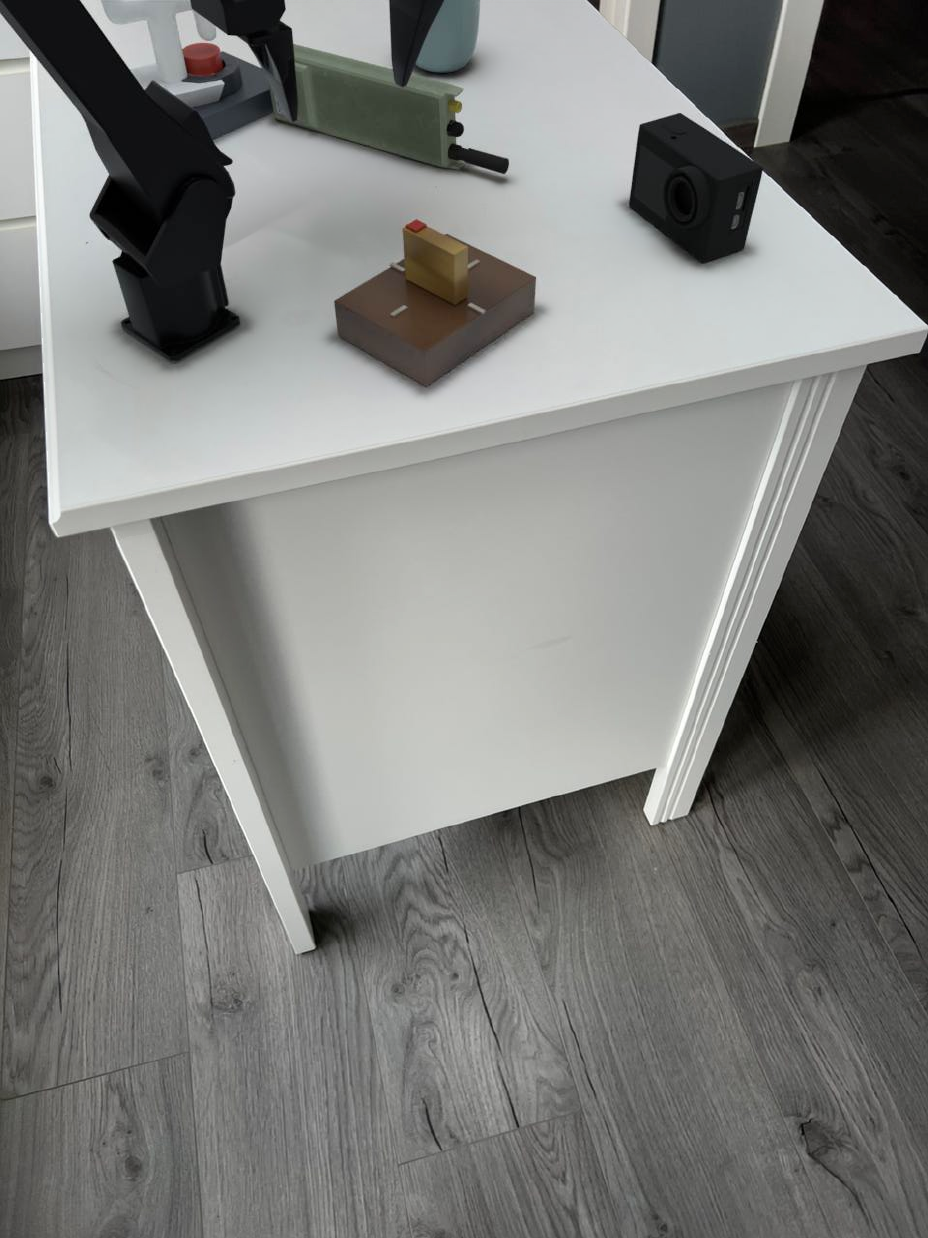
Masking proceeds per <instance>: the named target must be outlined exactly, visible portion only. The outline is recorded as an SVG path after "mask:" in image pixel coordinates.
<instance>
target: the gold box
mask: <svg viewBox="0 0 928 1238" xmlns="http://www.w3.org/2000/svg"><path fill="white" fill-rule="evenodd" d="M402 241H403V259H404V262H405V278H406V279H407V280H409V281H411V282H413V283H414V284H416V285H418V286H420V287H422V288H424V289H426V290H427V291H429V292H431V293H433V294H435V295H437V296H439V297H440V298H442V299H444V300H446V301H448V302H450V303H452V304H453V305H456V304H458V303H459V302H461V301H462V300H464V299H466V298H467V297H468V247H467V246H465V245H463V244H461V243H459V242H457V241H455V240H453V239H452V238H450V237H448V236H446V235H445V234H444V233H441V232H440V231H438V230H436V229H433V228H432V227H430V226H427V223H425V222H423V221H421V220H419V219H418V218H416V219H415V220H412V221H411V222H409V223H407V224H406V225H405V226H404V227H403V228H402Z"/></svg>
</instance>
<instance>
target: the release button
mask: <svg viewBox="0 0 928 1238" xmlns="http://www.w3.org/2000/svg"><path fill="white" fill-rule="evenodd" d="M182 52H183V56H184V61H185V66H186V71H187V73H188V74H191V75H195V76H205V75H211V74H214V73H218V72H220V71H222V70H223V63H222V58H221V52H222V51H221V48H220V47H219V46H218V45H217V44H214V43H211V42H195V43H191V44H188V45H186V46H184V47H183V48H182Z"/></svg>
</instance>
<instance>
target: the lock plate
mask: <svg viewBox="0 0 928 1238" xmlns="http://www.w3.org/2000/svg"><path fill="white" fill-rule="evenodd" d="M444 235H446V236H448V237H450V238H452V239H453V240H455V241H457V242H459V243H461V244H463V245H465V246H467V247H468V297H467V298H466V299H464V300H462V301H461V302H459V303H458V304H456V305H453V304H452V303H450V302H448V301H446V300H444V299H442V298H440V297H439V296H437V295H435V294H433V293H431V292H429V291H427V290H426V289H424V288H422V287H420V286H418V285H416V284H414V283H413V282H411V281H409V280H407V279H406V278H405V262H404V258H403V259H401V260H399V261H398V262H396V263H395V262H393V261H392V262H390V263H389V267H388V268H386V269H385V270H383V271H381V272H379V273H378V274H376V275H375V276H372V277H371V278H369V279H368V280H366V281H365V282H363V283H361V284H360V285H358V286H356V287H355V288H353V289H351V290H349V291H348V292H347V293H344V294H343V295H341V296H340V297H338V298H336V299H334V300H333V306H334V312H335V313H334V314H335V320H336V321H335V322H336V330H337V337H340V338H341V339H343V340H345V341H346V342H348V343H350V344H351V345H353V346H355V347H357V348H359V349H360V350H362V351H364V352H365V353H367V354H369V355H370V356H373V357H374V358H376V359H378V360H379V361H380V362H383V363H385V364H386V365H387V366H389V367H391V368H393V369H395V370H397V371H398V372H400V373H401V374H403V375H405V376H406V377H408V378H410V379H412V380H413V381H415V382H417V383H418V384H420V385H422V386H424V387H429V386H430V385H431V384H433V383H434V382H435V381H438V379H440V378H442V377H443V376H444V375H445V374H447V373H448V372H450V371H451V370H452V369H454V368H455V367H457V366H458V365H460V364H461V363H463V362H464V361H465V360H467V359H469V358H470V357H472V356H473V355H474V354H476V353H478V352H479V351H481V349H483V348H484V347H486V346H487V345H489V344H490V343H492V342H493V341H494V340H496V339H497V338H499V337H500V336H502V335H504V333H506V332H507V331H509V330H511V329H512V328H513V327H515V326H516V325H517V324H519V323H520V322H522V321H524V319H526V318H528V317H529V316H530V315H532V314H534V313H535V303H536V289H537V287H536V286H537V276H536V275H533V274H531V273H528V272H527V271H525V270H522V269H521V268H519V267H516V266H514V265H512V264H510V263H508V262H506V261H504V260H502V259H500V258H498V257H496V256H494V255H492V254H490V253H488V252H486V251H483V250H481V249H479V248H477V247H476V246H473V245H471V244H470V243H467V242H465V241H463V240H461V239H459V238H458V237H456V236H455V237H454V236H453V235H451V234H448V233H445V234H444Z"/></svg>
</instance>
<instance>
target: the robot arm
mask: <svg viewBox="0 0 928 1238" xmlns="http://www.w3.org/2000/svg"><path fill="white" fill-rule="evenodd" d="M190 2H191V7H192V9H193V10H194V11H195V12H197V13H198V14H200V15H201V16H202V17H204V18H205V19H206V20H208V21H209V22H211V23H212V24H213V25H215V26H216V29H219V30H220V31H221V32H223V33H224V34H226V35H227V36H230V37H231V36H234V37H237V38H239V39H240V40H241V41H243V42H244V43H245V44H247V45H248V47H249V49H250V50H251V52H252V53H253V56H254V57H255V59H256V60H257V62H258V64H259V67H260V68H262V69H263V72H264V74H265V76H266V78H267V80H268V82H269V84H270V86H271V88H272V90H273V92H274V94H275V96H276V98H277V100H278V102H279V105H280V107H281V109H282V111H283V113H284V115H285V116H286V118H287V119H289V120H290V121H291V122H295V121H297V116H298V94H297V83H296V71H295V59H294V46H293V44H294V36H293V28H292V27H291V26H289V25H288V24H286V23H285V22H284V21H281V19H282V17H283V16H284V14H285V12H286V10H287V9H286V8H287V7H286V0H190ZM443 2H444V0H388V4H389V6H388V7H389V32H390V33H389V34H390V54H391V55H390V56H391V67H392V69H393V74H394V81H395V83H396V84H397V85H399V86H400V87H405V86H407V84H408V81H409V79H410V76H411V74H413V72H414V69H415V66H416V61H417V59H418V56H419V54H420V51H421V49H422V46H423V44H424V41H425V39H426V37H427V35H428V32H429V30H430V28H431V26H432V24H433V22H434V20H435V18H436V16H437V14H438V12H439V10H440V8H441V6H442V4H443ZM0 15H1V16H2V18H3V19H4V20H5V22H6V23H8V25H9V26H10V27H11V29H12V30H13V31H14V32H15V34H16V35H17V36H18V37H19V38H20V40H21V41H22V42H23V44H24V45H25V46H26V47H27V48H28V50H29V51H30V52H31V53H32V55H33V56H34V57H35V59H36V60H37V61H38V62H39V64H40V65H41V66H42V68H43V69H44V70H45V71H46V72H47V74H48V75H49V76H50V77H51V78H52V80H53V81H54V82H55V84H56V85H57V86H58V87H59V89H60V90H61V91H62V92H63V93H64V95H65V96H66V97H67V99H68V100H69V101H70V103H71V104H72V105H73V106H74V107H75V108H76V110H77V111H78V112H79V114H80V115H81V117H82V119H83V120H84V123H85V126H86V128H87V131H88V133H89V137H90V138H91V142H92V145H93V148H94V150H95V152H96V153H97V155H98V157H99V159H100V160H101V162H102V164H103V166H104V167H105V169H106V171H107V173H108V176H107V178H106V179H105V182H104V184H103V185H102V188H101V190H100V192H99V193H98V195H97V198H96V199H95V201H94V203H93V206H92V208H91V209H90V212H89V214H88V215H89V219H90V221H91V222H92V223H93V224H94V226H95V227H96V228H97V229H98V230H99V232H100V233H101V234H102V236H103V237H104V238H105V239H106V240H107V241H110V242H112V244H113V245H115V246H116V248H118V249H119V250H120V251H121V252H120V255H119V256H118V257H116V258H114V259H112V261H111V262H112V265H113V268H114V273H115V275H116V278H117V282H118V284H119V288H120V290H121V295H122V298H123V301H124V304H125V308H126V311H127V314H128V316H127V317H126V318H124V319H122V320H120V321H121V322H120V326H121V329H122V330H123V331H125V332H126V333H127V334H129V335H130V336H132V337H133V338H135V339H136V340H138V341H139V342H141V343H143V344H144V345H146V346H147V347H148V348H150V349H151V350H153V351H155V353H157V354H159V355H161V356H162V357H164V358H165V359H167V360H168V361H170V362H178V361H180V360H182V359H184V358H185V357H187V356H190V355H191V354H192V353H194V352H196V351H198V350H199V349H201V348H202V347H204V346H206V345H208V344H210V343H211V342H213V341H214V340H216V339H218V338H220V337H222V336H224V335H225V334H227V333H228V332H230V331H233V330H234V329H235V328H237V327H239V326H240V325H241V318H240V316H239V314H236V313H235V312H233V311H232V310H229V308H226V307H228V306H229V304H230V300H229V294H228V291H227V286H226V281H225V277H224V271H223V267H222V258H223V251H224V242H225V236H226V235H225V234H226V228H227V227H226V226H227V219H228V218H229V214H230V213H231V210H232V207H233V201H234V200H233V199H234V197H235V196H236V188H235V183H234V181H233V178H232V175H230V174H231V173H230V172H229V171H228V170H227V168H226V167H227V166H230V165H232V164H233V162H234V161H233V159H232V157H229V156H228V155H227V154H226V153H225V152H223V151H221V149H219V147H218V146H217V145H216V144H215V142H214V140H212V138H211V136H210V133H209V131H208V129H207V127H206V125H205V123H204V121H203V120H202V118H201V116H200V115H199V113H198V112H197V111H196V110H194V109H193V108H192V107H190V106H189V105H187V104H186V103H185V102H183V101H182V100H180V99H179V98H178V97H176V96H175V95H173V94H172V93H170V92H169V91H168V90H166V89H165V88H163V87H162V86H161V85H159V84H158V83H156V82H155V81H153V80H152V81H151V82H150V84H149V85H148V86H147V88H146V89H145V90H144V89H143V87H142V86H141V85H140V83H139V82H138V80H137V79H136V78H135V76H134V75H133V73H132V72H131V71H130V69H131V68H130V67H129V66H128V65H127V63H126V62H125V60H124V59H123V58H122V57H121V55H120V53H119V52H118V51H117V49H116V48H115V46H113V44H112V43H111V41H110V40H109V38H108V37H107V35H106V34H105V33H104V32H103V30H102V28H101V27H100V26H99V25H98V23H97V22H96V21H95V19H94V17H93V16H92V15H91V13H90V12H89V10H88V9H87V7H86V6H85V5H84V3H83V2H82V1H81V0H0Z"/></svg>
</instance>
